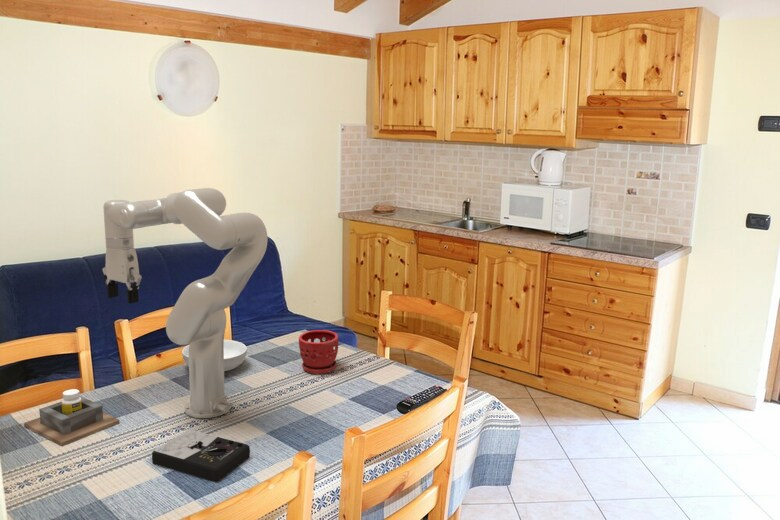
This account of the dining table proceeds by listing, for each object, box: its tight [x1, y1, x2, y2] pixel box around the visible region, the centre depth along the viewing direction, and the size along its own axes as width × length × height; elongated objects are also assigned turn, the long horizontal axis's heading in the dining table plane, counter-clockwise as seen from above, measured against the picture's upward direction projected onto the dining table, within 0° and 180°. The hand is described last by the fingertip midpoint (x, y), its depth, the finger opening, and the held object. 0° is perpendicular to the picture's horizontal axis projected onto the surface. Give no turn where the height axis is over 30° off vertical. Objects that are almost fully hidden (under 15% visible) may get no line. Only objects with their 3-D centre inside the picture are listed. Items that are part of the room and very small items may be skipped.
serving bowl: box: [181, 339, 248, 373], centre depth 213 cm, size 21×21×7 cm
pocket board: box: [23, 395, 121, 447], centre depth 170 cm, size 18×16×5 cm
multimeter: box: [151, 429, 251, 483], centre depth 154 cm, size 13×19×5 cm
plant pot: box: [298, 329, 339, 375], centre depth 213 cm, size 13×13×12 cm
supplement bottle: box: [61, 388, 82, 415], centre depth 169 cm, size 5×5×8 cm
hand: (123, 299), depth 188 cm, fingers open, 9 cm apart
